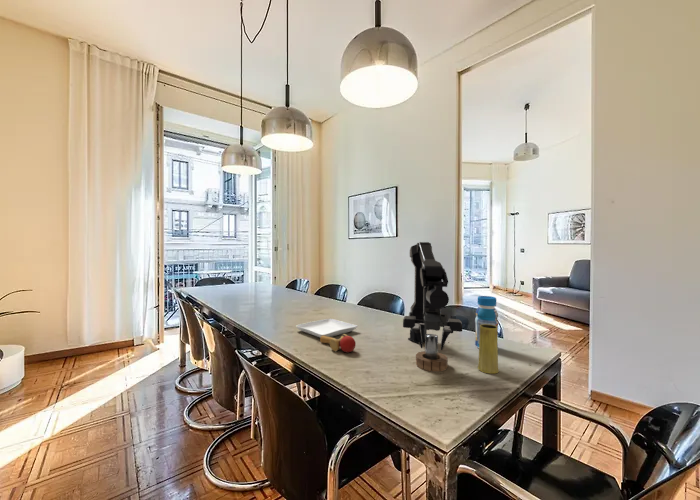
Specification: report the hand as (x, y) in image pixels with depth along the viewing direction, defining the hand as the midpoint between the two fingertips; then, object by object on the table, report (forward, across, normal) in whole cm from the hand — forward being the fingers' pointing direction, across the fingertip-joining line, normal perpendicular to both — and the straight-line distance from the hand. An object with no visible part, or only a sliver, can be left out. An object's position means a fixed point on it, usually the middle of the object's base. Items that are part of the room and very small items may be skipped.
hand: (431, 348), depth 101 cm
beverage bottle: (+6, +21, +24) cm, 33 cm away
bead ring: (+6, 0, 0) cm, 6 cm away
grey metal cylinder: (+6, 0, 0) cm, 6 cm away
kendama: (+6, -36, +8) cm, 37 cm away
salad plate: (+6, -47, +28) cm, 55 cm away
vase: (+6, +18, +1) cm, 19 cm away
